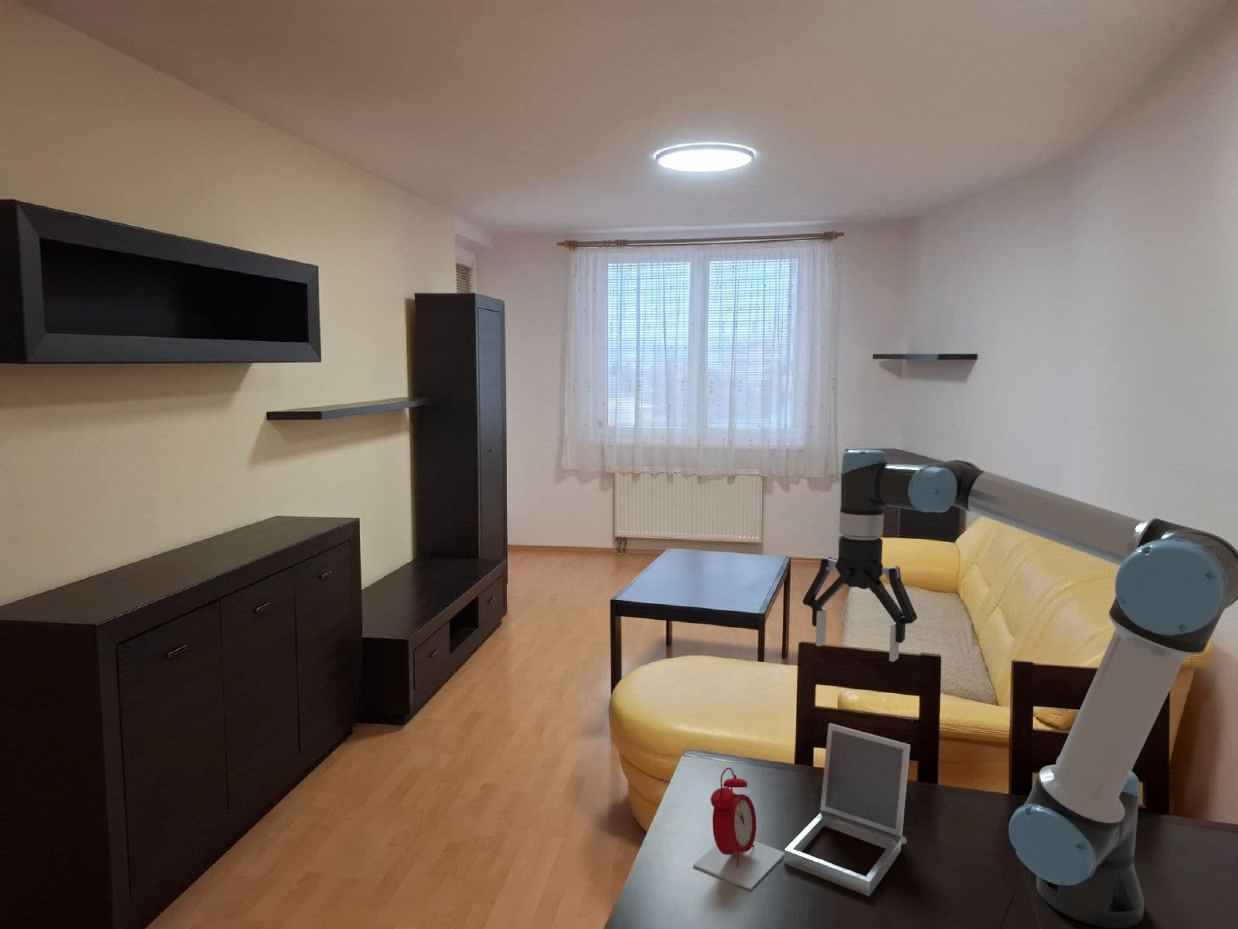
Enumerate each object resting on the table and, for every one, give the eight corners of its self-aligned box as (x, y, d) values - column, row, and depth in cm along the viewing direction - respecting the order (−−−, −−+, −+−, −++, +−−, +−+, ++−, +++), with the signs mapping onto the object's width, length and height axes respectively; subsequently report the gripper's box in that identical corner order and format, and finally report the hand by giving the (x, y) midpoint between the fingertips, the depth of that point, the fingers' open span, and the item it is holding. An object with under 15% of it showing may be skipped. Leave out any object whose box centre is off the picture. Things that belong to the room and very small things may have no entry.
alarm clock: (738, 874, 137) (740, 789, 135) (704, 863, 140) (706, 779, 138) (761, 845, 146) (763, 765, 144) (728, 835, 149) (730, 756, 147)
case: (900, 852, 145) (901, 836, 144) (869, 896, 132) (869, 879, 132) (820, 824, 154) (821, 809, 153) (784, 863, 141) (784, 847, 140)
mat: (785, 854, 143) (785, 852, 143) (750, 890, 133) (750, 888, 133) (730, 834, 150) (730, 831, 150) (693, 866, 139) (693, 864, 139)
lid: (899, 836, 144) (902, 835, 145) (908, 746, 144) (910, 744, 145) (819, 809, 152) (822, 808, 153) (827, 724, 153) (830, 723, 154)
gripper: (938, 541, 141) (933, 660, 143) (804, 525, 155) (800, 633, 157) (926, 548, 135) (920, 672, 137) (787, 530, 149) (783, 643, 151)
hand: (856, 651), depth 147 cm, fingers open, 13 cm apart
